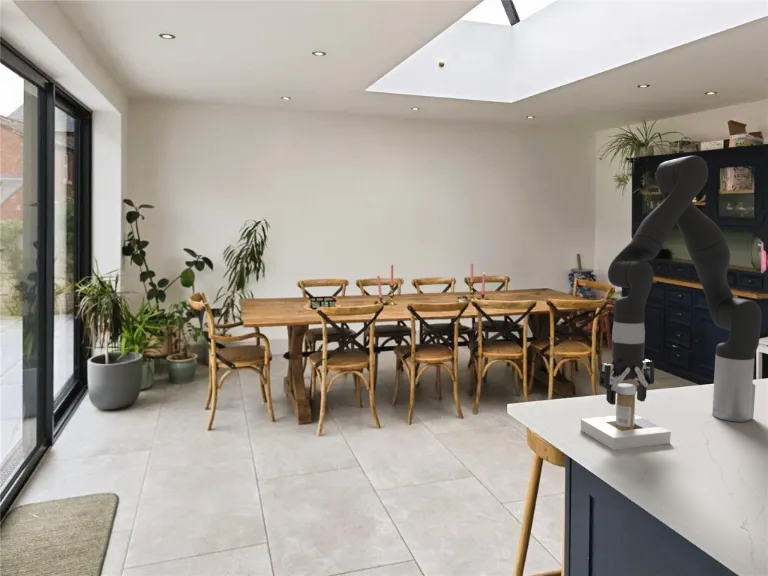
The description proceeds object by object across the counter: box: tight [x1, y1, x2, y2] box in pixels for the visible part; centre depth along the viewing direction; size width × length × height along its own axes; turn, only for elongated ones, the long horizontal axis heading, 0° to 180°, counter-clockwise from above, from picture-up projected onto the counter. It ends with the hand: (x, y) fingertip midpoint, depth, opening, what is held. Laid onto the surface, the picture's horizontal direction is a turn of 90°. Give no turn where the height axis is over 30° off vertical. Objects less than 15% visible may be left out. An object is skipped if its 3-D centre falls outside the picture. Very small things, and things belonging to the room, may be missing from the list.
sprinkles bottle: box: [615, 382, 637, 431], centre depth 151 cm, size 5×5×14 cm
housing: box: [580, 414, 672, 451], centre depth 151 cm, size 16×14×3 cm
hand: (626, 402), depth 150 cm, fingers open, 8 cm apart
